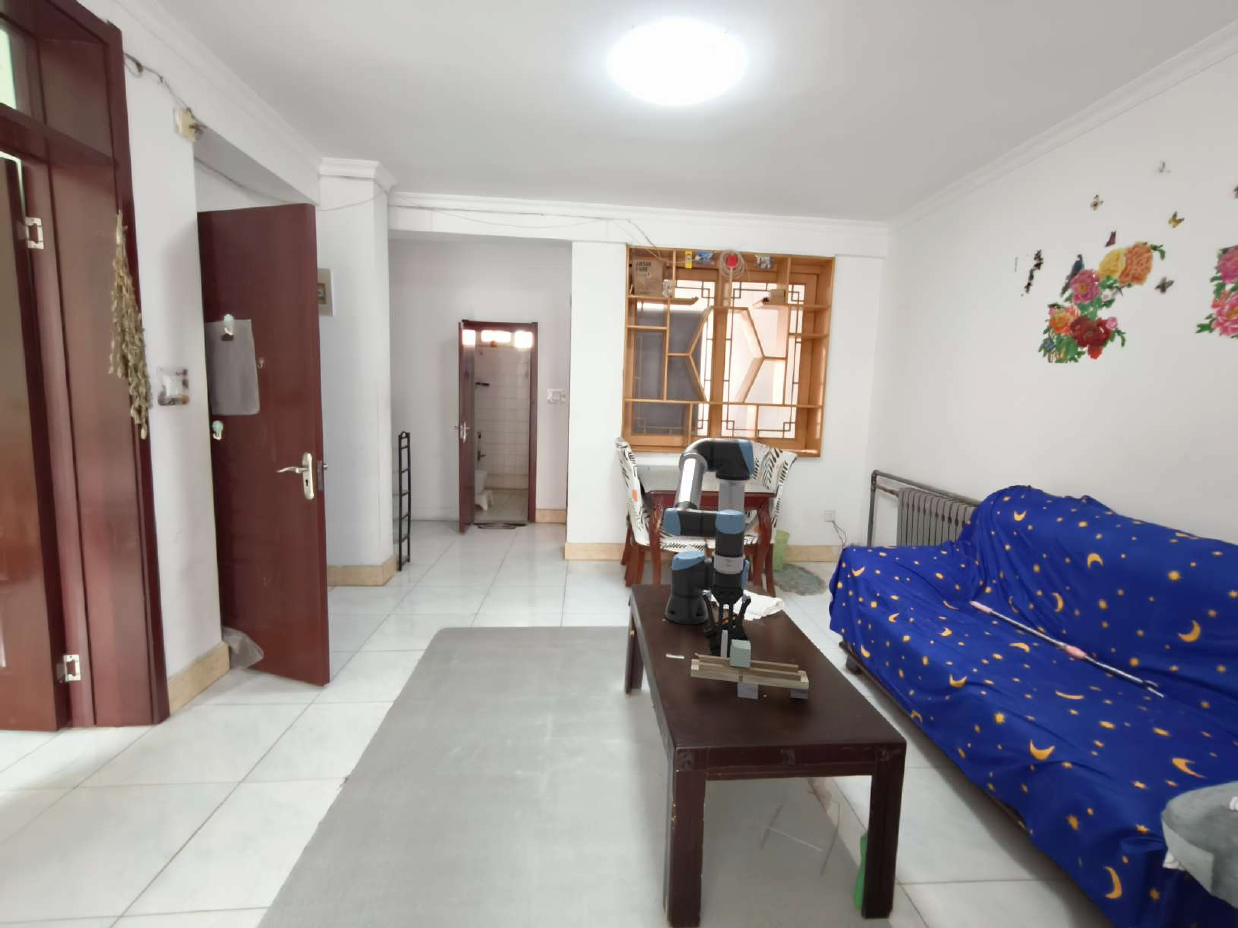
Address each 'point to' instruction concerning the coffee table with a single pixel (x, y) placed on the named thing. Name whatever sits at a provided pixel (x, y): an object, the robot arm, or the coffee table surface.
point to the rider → (740, 653)
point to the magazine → (712, 637)
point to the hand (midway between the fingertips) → (723, 655)
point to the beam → (752, 675)
